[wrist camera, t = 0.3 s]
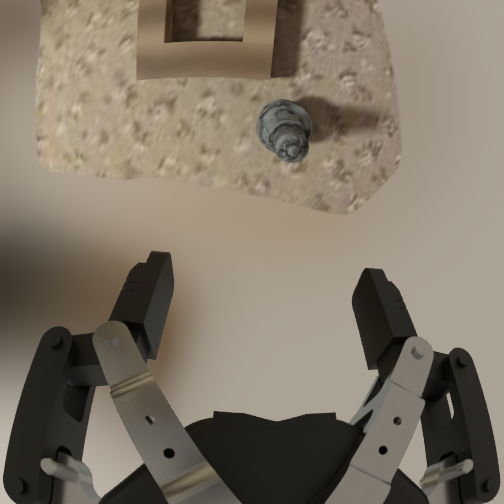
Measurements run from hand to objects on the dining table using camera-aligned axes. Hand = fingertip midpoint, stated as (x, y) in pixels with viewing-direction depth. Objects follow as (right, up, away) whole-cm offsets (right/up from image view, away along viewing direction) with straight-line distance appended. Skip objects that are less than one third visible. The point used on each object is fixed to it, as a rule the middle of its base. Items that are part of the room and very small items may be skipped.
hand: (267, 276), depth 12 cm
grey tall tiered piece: (+3, +16, +19) cm, 25 cm away
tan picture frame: (-5, +27, +11) cm, 29 cm away
